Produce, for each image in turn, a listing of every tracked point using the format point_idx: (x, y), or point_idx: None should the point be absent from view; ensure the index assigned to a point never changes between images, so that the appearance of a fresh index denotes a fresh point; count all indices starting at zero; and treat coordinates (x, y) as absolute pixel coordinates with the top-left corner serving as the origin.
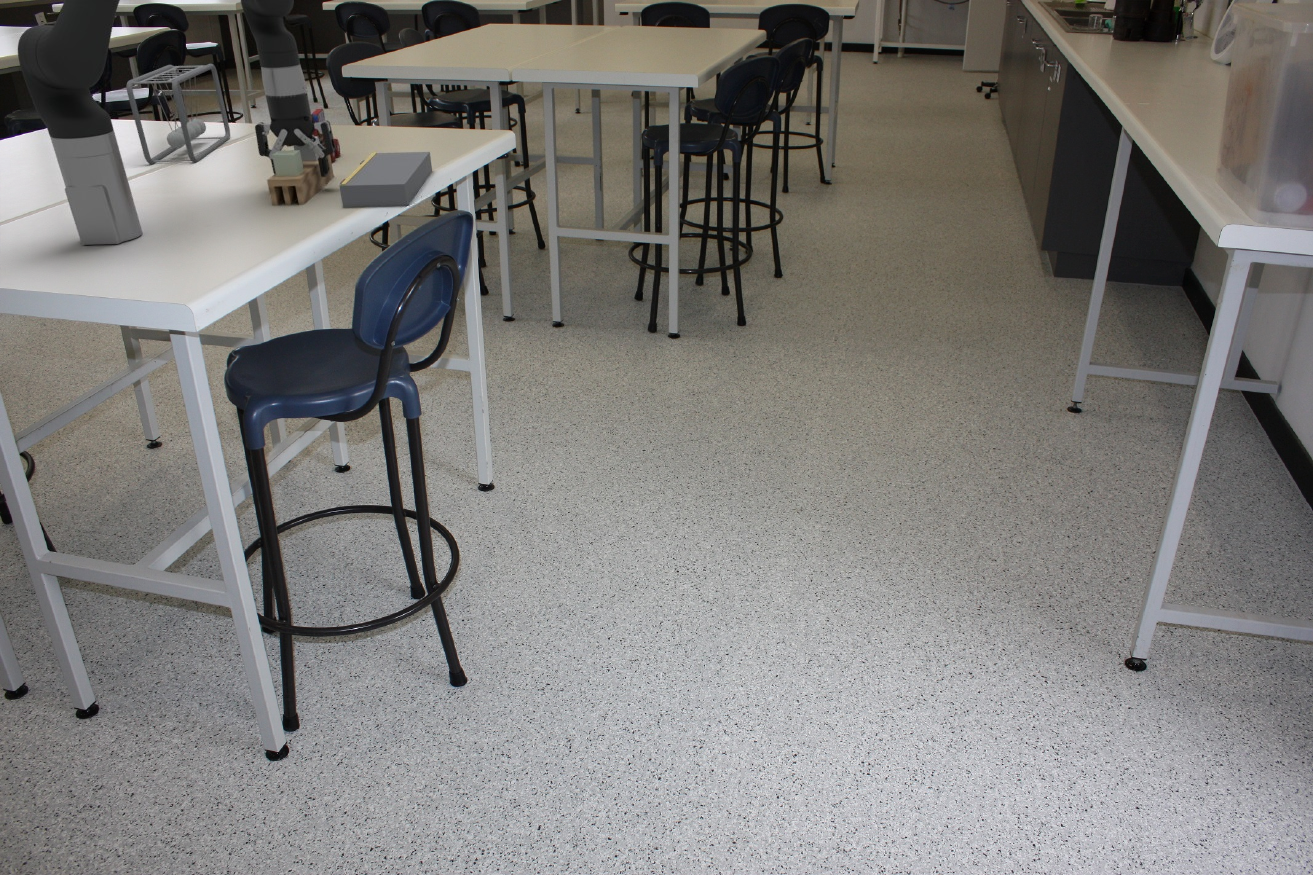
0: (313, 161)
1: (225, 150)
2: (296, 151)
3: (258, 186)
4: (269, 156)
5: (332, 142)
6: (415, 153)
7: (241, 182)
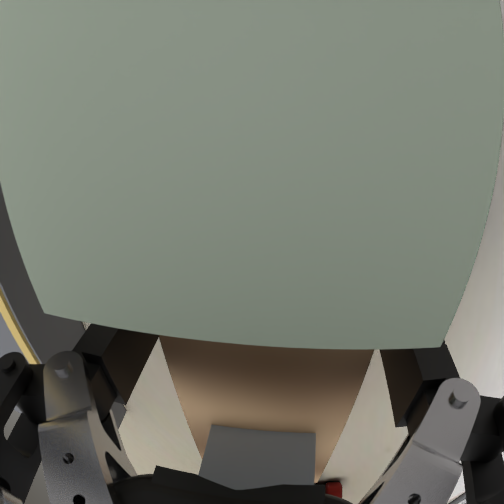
0: (223, 422)
1: (454, 493)
2: (24, 217)
3: (467, 340)
4: (476, 394)
5: (16, 434)
6: (15, 406)
7: (497, 377)
